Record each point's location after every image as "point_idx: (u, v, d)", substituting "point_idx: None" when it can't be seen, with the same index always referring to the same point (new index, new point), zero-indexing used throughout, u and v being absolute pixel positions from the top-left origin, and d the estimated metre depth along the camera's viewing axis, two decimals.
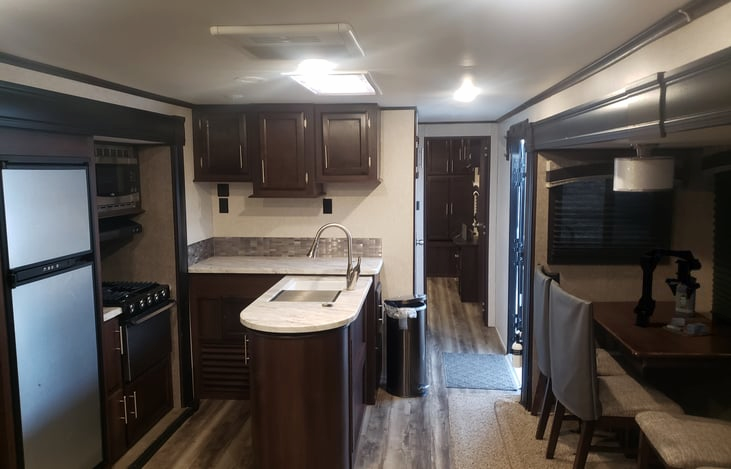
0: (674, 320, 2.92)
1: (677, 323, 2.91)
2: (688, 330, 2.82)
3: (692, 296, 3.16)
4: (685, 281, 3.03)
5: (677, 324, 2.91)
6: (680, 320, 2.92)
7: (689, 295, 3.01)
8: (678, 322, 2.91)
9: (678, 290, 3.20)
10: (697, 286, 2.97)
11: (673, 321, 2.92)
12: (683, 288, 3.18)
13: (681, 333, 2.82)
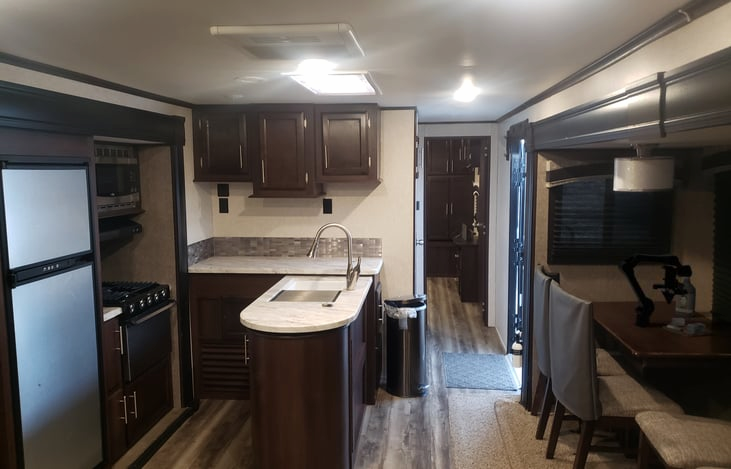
0: (674, 320, 2.92)
1: (677, 323, 2.91)
2: (688, 330, 2.82)
3: (692, 296, 3.16)
4: (672, 287, 2.95)
5: (677, 324, 2.91)
6: (680, 320, 2.92)
7: (670, 300, 2.97)
8: (678, 322, 2.91)
9: None
10: (684, 292, 2.89)
11: (673, 321, 2.92)
12: (683, 288, 3.18)
13: (681, 333, 2.82)
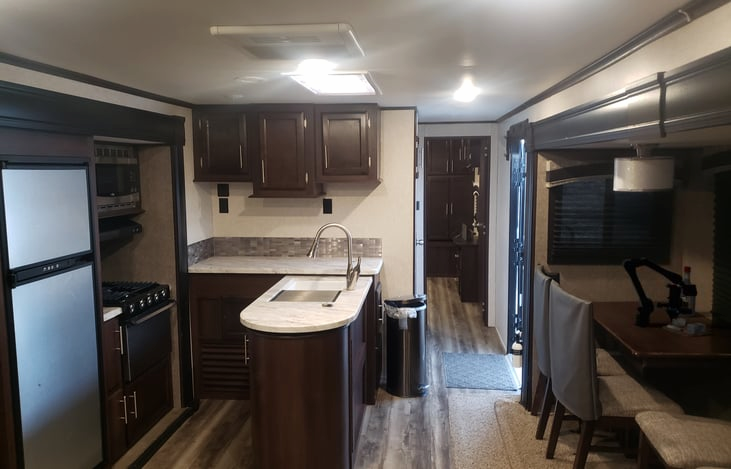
0: (675, 320, 2.91)
1: (678, 323, 2.91)
2: (688, 330, 2.82)
3: None
4: (677, 306, 2.92)
5: (678, 324, 2.91)
6: (681, 320, 2.91)
7: None
8: (679, 322, 2.91)
9: None
10: (689, 311, 2.87)
11: (674, 321, 2.92)
12: None
13: (681, 333, 2.82)
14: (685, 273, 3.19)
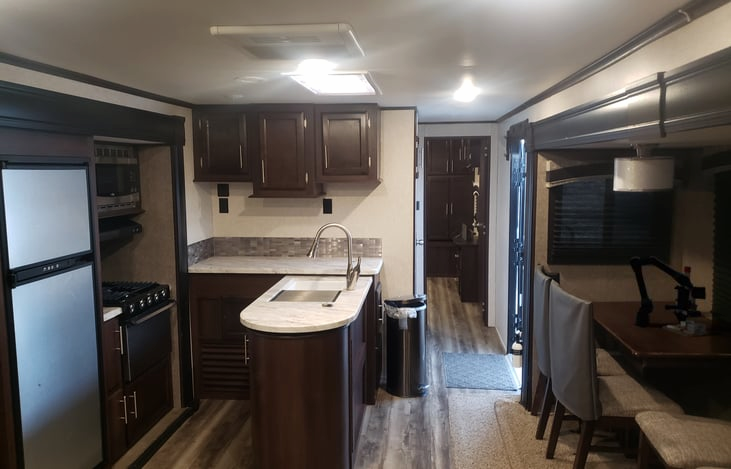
0: (683, 323, 2.86)
1: (686, 326, 2.86)
2: (688, 330, 2.82)
3: None
4: (685, 308, 2.87)
5: (686, 327, 2.86)
6: (689, 323, 2.86)
7: None
8: None
9: None
10: (698, 314, 2.81)
11: (682, 324, 2.87)
12: None
13: (681, 333, 2.82)
14: (685, 273, 3.19)
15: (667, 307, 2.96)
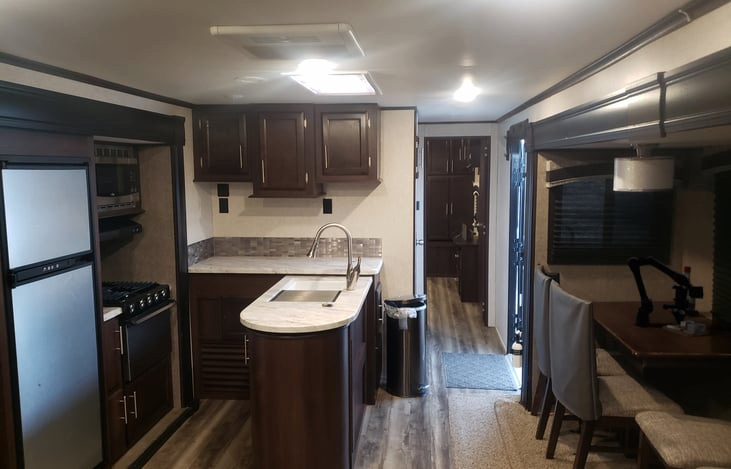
0: (683, 323, 2.86)
1: (686, 326, 2.86)
2: (688, 330, 2.82)
3: None
4: (683, 308, 2.89)
5: (686, 327, 2.86)
6: (689, 323, 2.86)
7: (680, 321, 2.91)
8: None
9: None
10: (696, 313, 2.83)
11: (682, 324, 2.87)
12: None
13: (681, 333, 2.82)
14: (685, 273, 3.19)
15: (665, 307, 2.97)
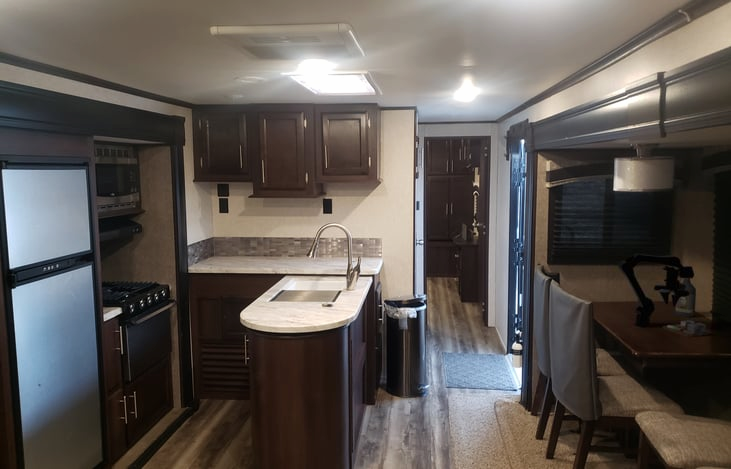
0: (683, 323, 2.86)
1: (686, 326, 2.86)
2: (688, 330, 2.82)
3: (692, 296, 3.16)
4: (674, 288, 2.94)
5: (686, 327, 2.86)
6: (689, 323, 2.86)
7: (675, 302, 2.94)
8: None
9: None
10: (686, 293, 2.88)
11: (682, 324, 2.87)
12: None
13: (681, 333, 2.82)
14: None
15: (656, 288, 3.03)
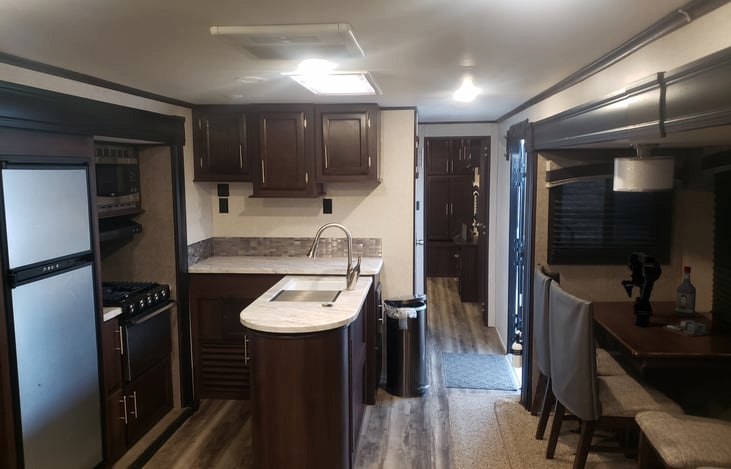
0: (683, 323, 2.86)
1: (686, 326, 2.86)
2: (688, 330, 2.82)
3: (692, 296, 3.16)
4: (639, 283, 3.09)
5: (686, 327, 2.86)
6: (689, 323, 2.86)
7: None
8: None
9: (678, 290, 3.20)
10: None
11: (682, 324, 2.87)
12: (683, 288, 3.18)
13: (681, 333, 2.82)
14: (685, 273, 3.19)
15: (623, 283, 3.18)
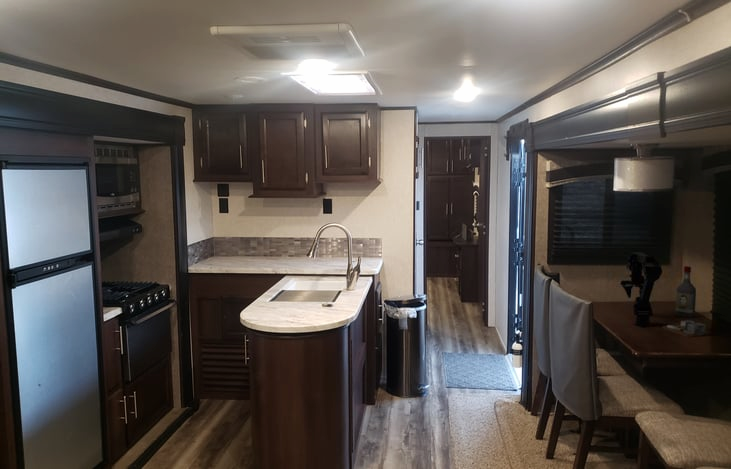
0: (683, 323, 2.86)
1: (686, 326, 2.86)
2: (688, 330, 2.82)
3: (692, 296, 3.16)
4: (638, 283, 3.09)
5: (686, 327, 2.86)
6: (689, 323, 2.86)
7: None
8: None
9: (678, 290, 3.20)
10: None
11: (682, 324, 2.87)
12: (683, 288, 3.18)
13: (681, 333, 2.82)
14: (685, 273, 3.19)
15: (622, 283, 3.18)
